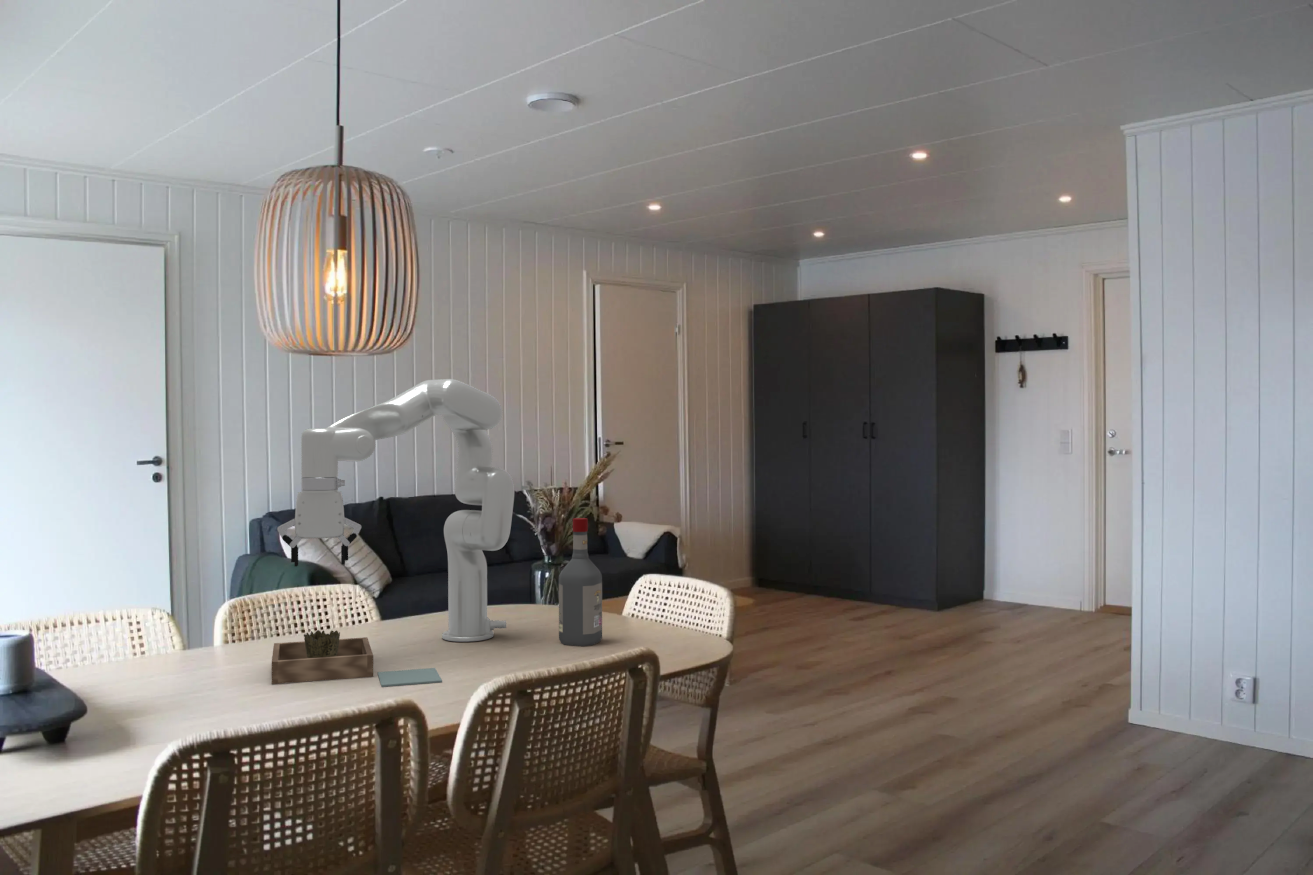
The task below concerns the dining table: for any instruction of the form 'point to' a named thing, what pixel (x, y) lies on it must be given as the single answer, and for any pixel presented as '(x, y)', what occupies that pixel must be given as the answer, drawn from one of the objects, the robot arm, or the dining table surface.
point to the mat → (409, 677)
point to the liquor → (580, 594)
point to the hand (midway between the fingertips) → (319, 564)
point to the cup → (322, 644)
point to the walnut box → (321, 662)
